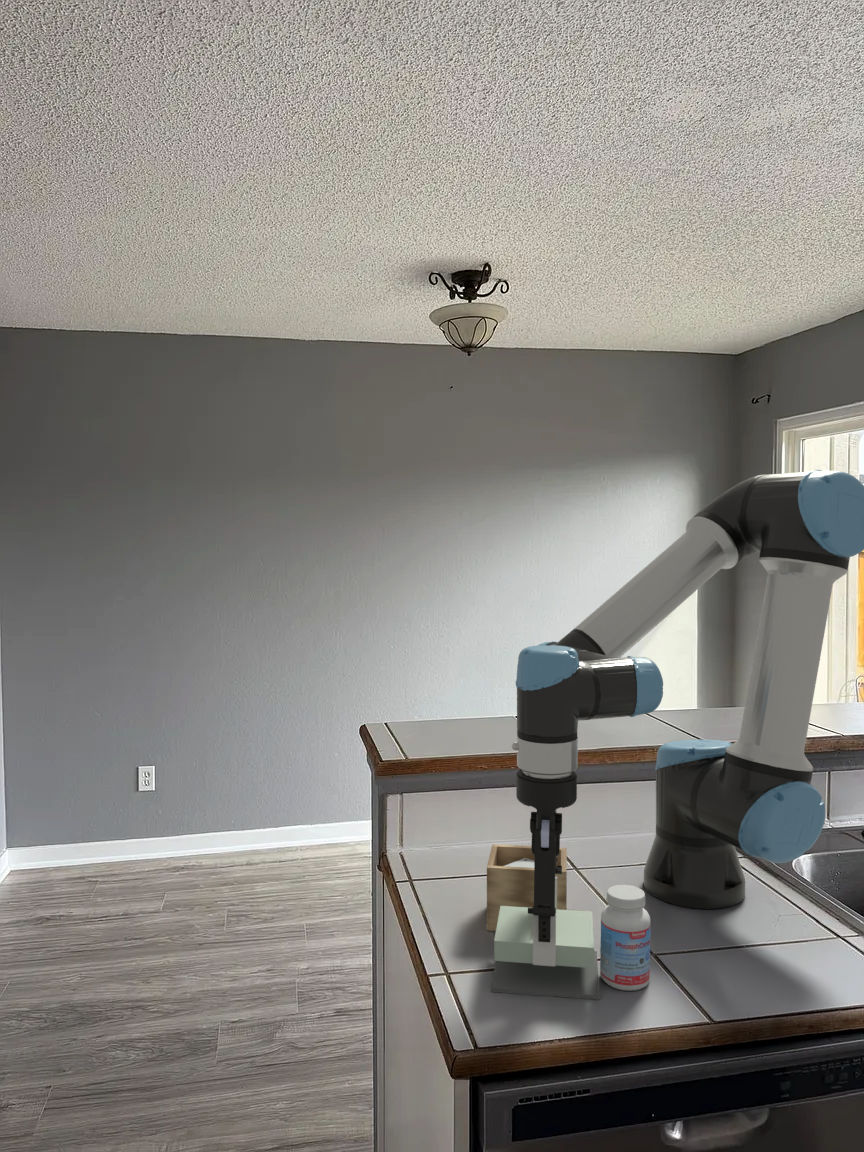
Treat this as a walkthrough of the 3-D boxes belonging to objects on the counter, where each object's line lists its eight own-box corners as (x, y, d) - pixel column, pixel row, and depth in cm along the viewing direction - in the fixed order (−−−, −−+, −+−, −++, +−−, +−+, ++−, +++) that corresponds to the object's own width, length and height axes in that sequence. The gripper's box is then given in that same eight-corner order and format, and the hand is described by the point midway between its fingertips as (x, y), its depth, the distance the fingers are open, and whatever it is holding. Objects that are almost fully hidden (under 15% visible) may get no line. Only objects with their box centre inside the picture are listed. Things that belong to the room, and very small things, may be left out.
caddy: (566, 907, 131) (566, 847, 131) (566, 935, 122) (566, 871, 122) (492, 902, 133) (492, 844, 132) (486, 930, 124) (486, 867, 123)
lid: (592, 930, 116) (592, 904, 116) (594, 968, 106) (594, 939, 106) (500, 924, 118) (500, 898, 118) (494, 960, 108) (494, 932, 108)
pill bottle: (619, 997, 107) (620, 906, 106) (590, 973, 112) (591, 886, 111) (660, 986, 109) (661, 897, 108) (630, 963, 115) (631, 878, 114)
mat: (596, 955, 117) (596, 951, 117) (599, 999, 106) (599, 995, 106) (498, 948, 119) (498, 944, 119) (491, 991, 108) (491, 987, 108)
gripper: (521, 746, 122) (520, 903, 124) (510, 796, 100) (509, 987, 102) (576, 748, 121) (574, 906, 123) (577, 799, 99) (576, 992, 100)
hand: (545, 943), depth 112 cm, fingers closed on lid, 10 cm apart
